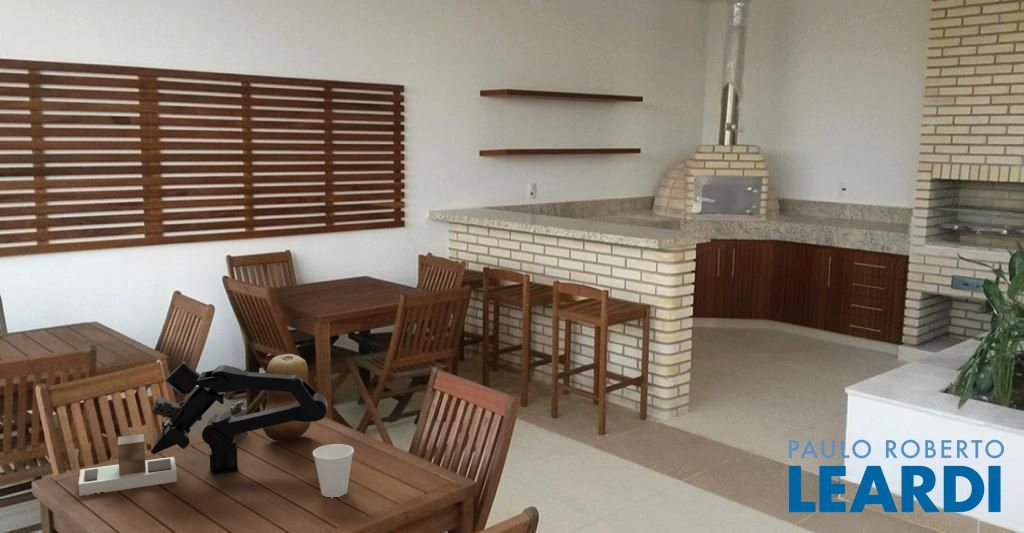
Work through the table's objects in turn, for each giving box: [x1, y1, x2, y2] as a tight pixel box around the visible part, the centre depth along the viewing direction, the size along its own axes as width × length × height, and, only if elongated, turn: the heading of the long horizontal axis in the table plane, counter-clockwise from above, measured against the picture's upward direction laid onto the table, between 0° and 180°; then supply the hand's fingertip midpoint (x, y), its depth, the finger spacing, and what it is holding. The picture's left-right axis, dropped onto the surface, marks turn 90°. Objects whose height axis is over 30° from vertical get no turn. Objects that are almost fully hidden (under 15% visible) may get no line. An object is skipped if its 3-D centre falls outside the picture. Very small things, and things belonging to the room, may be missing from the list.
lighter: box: [229, 400, 248, 441], centre depth 241 cm, size 8×3×10 cm, turn 169°
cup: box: [312, 443, 355, 499], centre depth 203 cm, size 10×10×11 cm
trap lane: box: [77, 456, 178, 497], centre depth 209 cm, size 22×10×3 cm, turn 115°
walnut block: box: [117, 433, 146, 475], centre depth 209 cm, size 6×6×8 cm
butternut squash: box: [262, 353, 311, 442], centre depth 238 cm, size 14×13×25 cm
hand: (151, 452), depth 211 cm, fingers closed
